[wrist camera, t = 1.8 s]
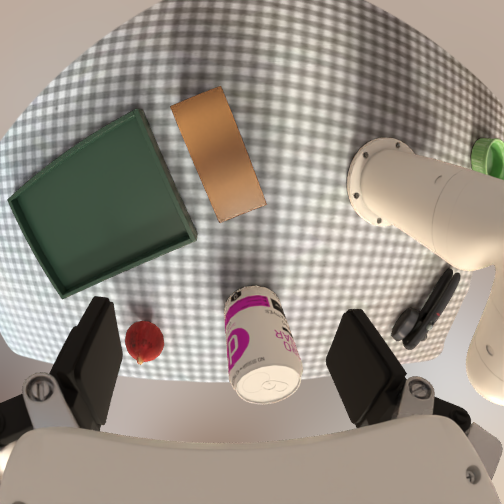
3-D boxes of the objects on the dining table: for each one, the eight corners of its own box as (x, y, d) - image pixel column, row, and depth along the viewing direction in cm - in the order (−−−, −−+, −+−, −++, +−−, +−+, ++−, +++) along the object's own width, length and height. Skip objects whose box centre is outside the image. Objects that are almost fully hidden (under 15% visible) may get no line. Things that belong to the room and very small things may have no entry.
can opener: (401, 340, 50) (414, 358, 45) (384, 330, 47) (398, 349, 42) (456, 274, 45) (473, 288, 40) (444, 258, 42) (463, 272, 37)
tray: (142, 109, 28) (137, 108, 26) (197, 233, 35) (196, 241, 33) (16, 195, 29) (7, 199, 27) (68, 291, 36) (62, 299, 34)
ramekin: (490, 132, 33) (507, 135, 29) (494, 176, 37) (510, 182, 33) (465, 138, 33) (483, 142, 29) (470, 187, 37) (487, 194, 33)
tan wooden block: (178, 110, 29) (169, 106, 23) (220, 93, 28) (220, 85, 23) (219, 207, 34) (219, 223, 29) (258, 192, 34) (266, 204, 28)
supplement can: (215, 319, 41) (218, 400, 27) (238, 274, 38) (252, 353, 25) (263, 333, 43) (281, 410, 30) (289, 293, 41) (320, 368, 27)
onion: (124, 315, 39) (110, 351, 32) (155, 306, 39) (146, 342, 32) (142, 342, 41) (133, 378, 34) (172, 334, 41) (167, 371, 34)
